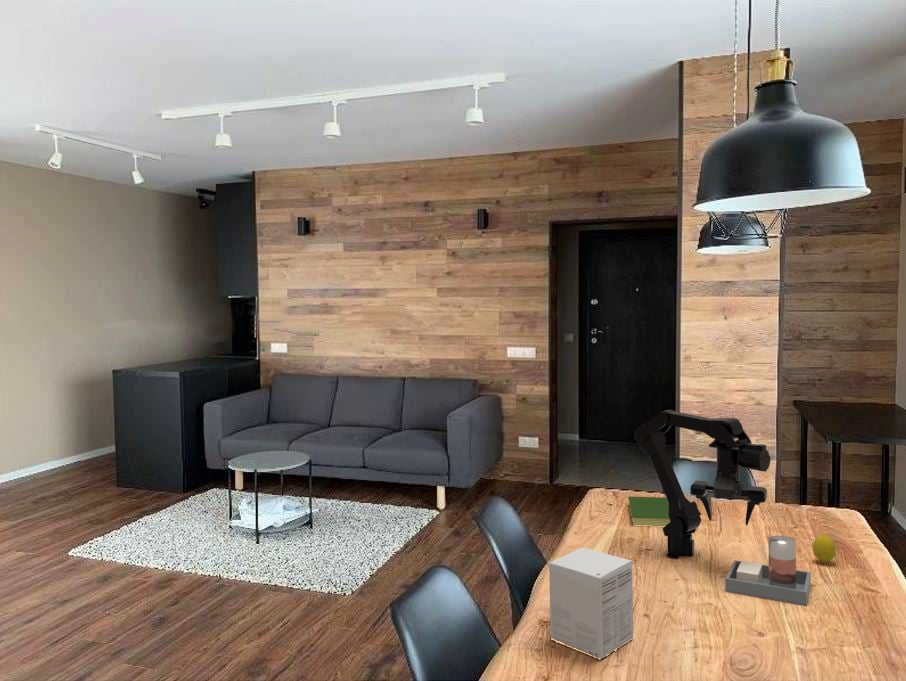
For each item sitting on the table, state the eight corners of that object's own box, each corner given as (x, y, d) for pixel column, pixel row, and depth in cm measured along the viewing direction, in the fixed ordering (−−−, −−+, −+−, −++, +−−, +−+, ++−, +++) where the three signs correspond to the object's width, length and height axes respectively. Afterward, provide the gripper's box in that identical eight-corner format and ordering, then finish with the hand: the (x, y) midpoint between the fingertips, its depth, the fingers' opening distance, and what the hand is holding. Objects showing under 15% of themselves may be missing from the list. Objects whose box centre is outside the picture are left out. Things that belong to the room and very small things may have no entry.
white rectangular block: (736, 586, 175) (736, 571, 175) (741, 575, 182) (741, 560, 182) (758, 590, 173) (758, 574, 173) (762, 579, 180) (762, 564, 179)
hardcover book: (692, 530, 224) (692, 518, 223) (632, 528, 227) (632, 516, 227) (682, 507, 248) (682, 497, 248) (628, 506, 252) (628, 495, 252)
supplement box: (635, 639, 151) (634, 560, 150) (601, 662, 142) (599, 577, 141) (584, 620, 160) (582, 546, 160) (548, 641, 151) (547, 561, 150)
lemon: (838, 567, 189) (838, 538, 188) (816, 566, 190) (816, 537, 189) (831, 559, 194) (831, 531, 194) (810, 558, 195) (810, 530, 195)
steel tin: (778, 597, 168) (777, 545, 168) (764, 587, 174) (763, 536, 174) (801, 595, 169) (800, 542, 168) (787, 585, 175) (786, 534, 174)
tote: (725, 594, 173) (725, 578, 173) (734, 575, 185) (734, 560, 185) (806, 608, 164) (806, 592, 164) (810, 587, 176) (810, 572, 176)
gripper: (685, 468, 185) (686, 526, 186) (761, 475, 175) (762, 536, 176) (694, 459, 195) (695, 515, 195) (767, 466, 185) (767, 524, 186)
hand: (728, 522), depth 188 cm, fingers open, 9 cm apart
